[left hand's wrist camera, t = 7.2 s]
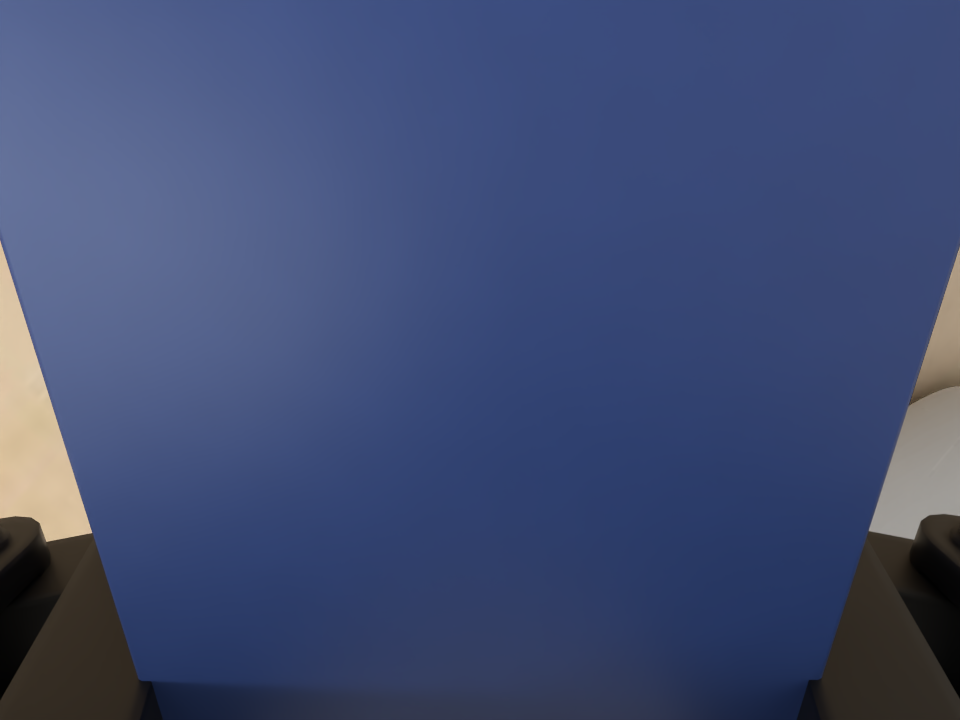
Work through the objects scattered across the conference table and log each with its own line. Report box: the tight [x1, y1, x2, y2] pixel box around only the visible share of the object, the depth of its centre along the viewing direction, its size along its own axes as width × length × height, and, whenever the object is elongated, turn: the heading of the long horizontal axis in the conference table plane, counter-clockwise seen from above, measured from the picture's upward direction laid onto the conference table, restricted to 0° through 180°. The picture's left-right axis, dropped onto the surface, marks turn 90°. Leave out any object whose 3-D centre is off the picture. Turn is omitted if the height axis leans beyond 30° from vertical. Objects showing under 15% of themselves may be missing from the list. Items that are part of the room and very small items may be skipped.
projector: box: [869, 386, 960, 540], centre depth 22 cm, size 22×23×15 cm
